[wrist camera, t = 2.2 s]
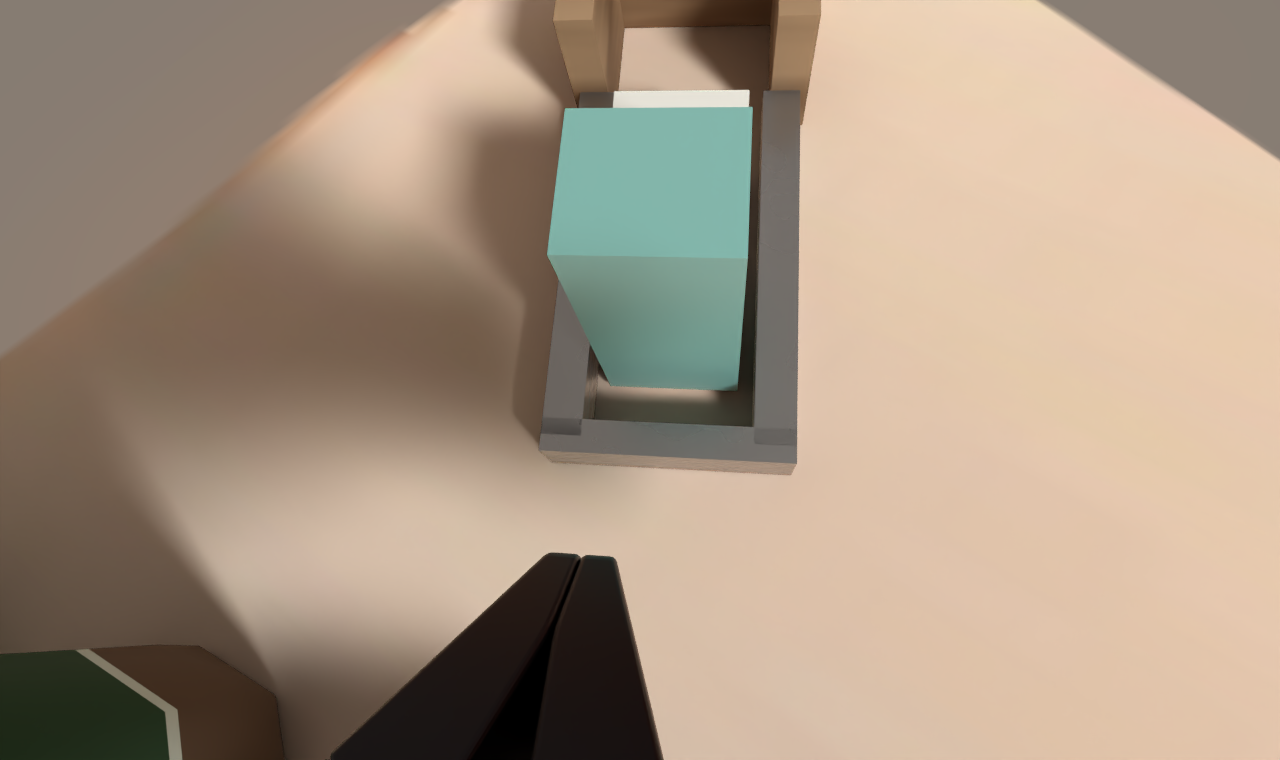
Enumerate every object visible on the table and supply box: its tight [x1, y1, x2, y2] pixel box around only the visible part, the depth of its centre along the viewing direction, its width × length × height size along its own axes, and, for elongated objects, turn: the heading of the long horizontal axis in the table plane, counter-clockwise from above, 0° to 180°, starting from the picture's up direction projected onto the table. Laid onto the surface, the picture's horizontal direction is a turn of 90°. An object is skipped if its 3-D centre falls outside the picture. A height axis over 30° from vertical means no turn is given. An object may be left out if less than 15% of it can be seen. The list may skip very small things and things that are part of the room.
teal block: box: [547, 90, 753, 391], centre depth 20 cm, size 8×4×9 cm, turn 176°
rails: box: [539, 90, 800, 475], centre depth 23 cm, size 12×7×2 cm, turn 176°
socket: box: [553, 0, 821, 125], centre depth 25 cm, size 6×8×5 cm
